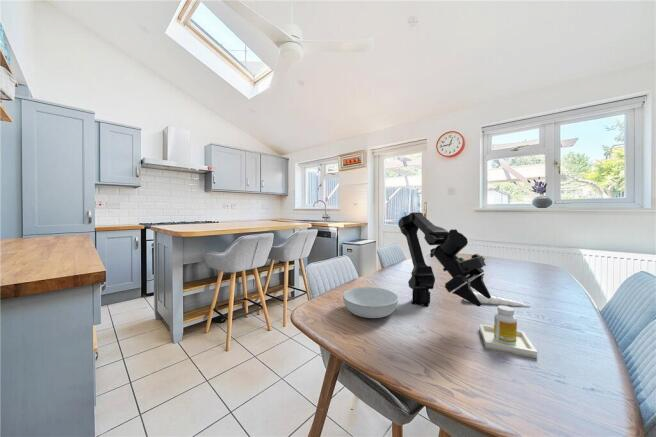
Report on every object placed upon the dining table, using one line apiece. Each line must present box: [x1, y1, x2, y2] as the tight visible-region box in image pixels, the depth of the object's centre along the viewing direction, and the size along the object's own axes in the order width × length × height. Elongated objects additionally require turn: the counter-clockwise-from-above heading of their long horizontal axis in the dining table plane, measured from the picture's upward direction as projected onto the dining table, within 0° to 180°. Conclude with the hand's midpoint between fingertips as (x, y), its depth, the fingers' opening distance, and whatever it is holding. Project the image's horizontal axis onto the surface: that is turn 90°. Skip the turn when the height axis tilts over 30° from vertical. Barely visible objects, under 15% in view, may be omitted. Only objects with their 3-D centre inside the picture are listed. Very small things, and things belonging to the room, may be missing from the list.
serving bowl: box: [342, 286, 399, 319], centre depth 93 cm, size 21×21×7 cm
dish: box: [479, 323, 538, 359], centre depth 72 cm, size 12×12×2 cm
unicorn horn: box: [463, 291, 531, 308], centre depth 101 cm, size 5×24×5 cm, turn 69°
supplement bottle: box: [493, 304, 518, 344], centre depth 72 cm, size 5×5×10 cm
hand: (485, 301), depth 76 cm, fingers open, 9 cm apart
